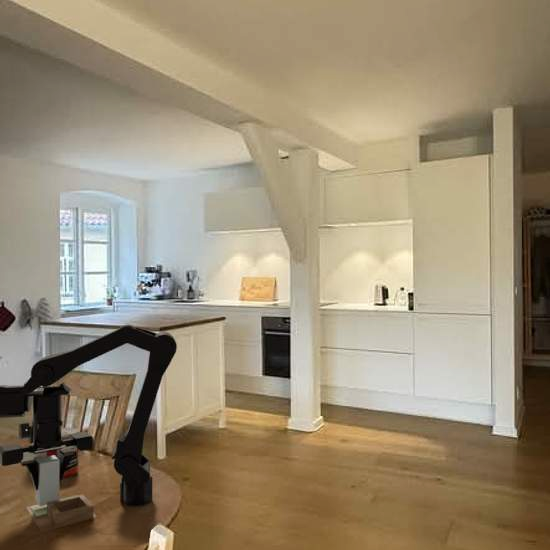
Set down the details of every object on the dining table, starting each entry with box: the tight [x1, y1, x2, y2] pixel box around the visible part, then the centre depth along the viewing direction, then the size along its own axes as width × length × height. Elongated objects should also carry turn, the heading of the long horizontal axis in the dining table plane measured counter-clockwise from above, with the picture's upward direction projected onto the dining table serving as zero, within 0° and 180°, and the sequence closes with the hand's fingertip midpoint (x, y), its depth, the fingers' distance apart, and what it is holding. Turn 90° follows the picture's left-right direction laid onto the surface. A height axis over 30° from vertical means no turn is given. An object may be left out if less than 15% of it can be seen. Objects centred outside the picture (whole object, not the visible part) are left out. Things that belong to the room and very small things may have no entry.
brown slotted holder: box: [25, 493, 98, 533], centre depth 114 cm, size 14×11×4 cm
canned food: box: [46, 427, 79, 479], centre depth 139 cm, size 8×8×11 cm
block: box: [34, 455, 60, 506], centre depth 115 cm, size 4×4×9 cm
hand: (47, 487), depth 115 cm, fingers closed on block, 4 cm apart
